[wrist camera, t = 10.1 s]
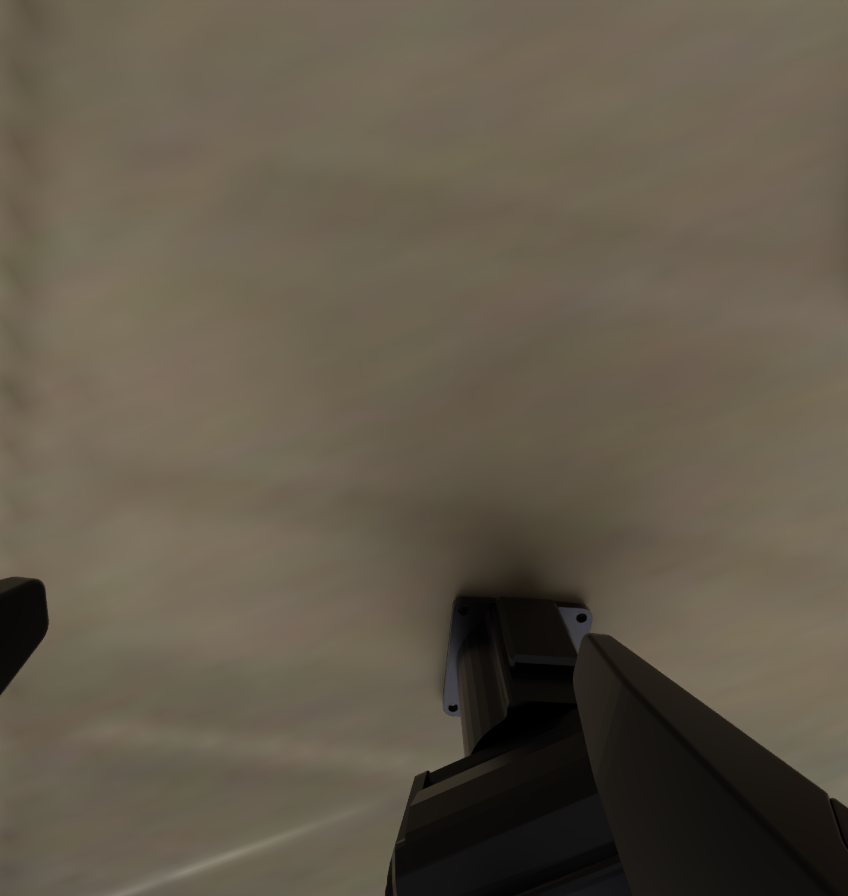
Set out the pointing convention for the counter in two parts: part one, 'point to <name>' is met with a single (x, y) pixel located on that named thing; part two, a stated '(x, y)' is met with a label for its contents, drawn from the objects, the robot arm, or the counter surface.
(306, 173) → the counter surface
